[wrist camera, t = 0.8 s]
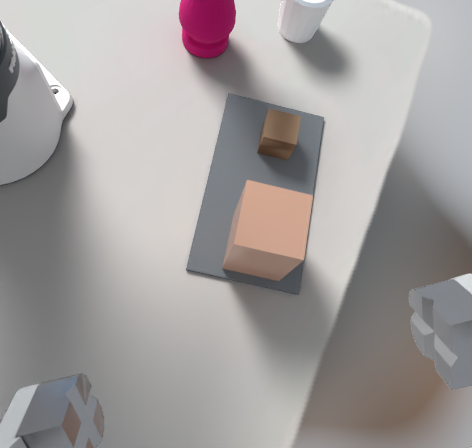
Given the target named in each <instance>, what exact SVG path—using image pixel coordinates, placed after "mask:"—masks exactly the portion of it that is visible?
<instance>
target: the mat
mask: <svg viewBox="0 0 472 448" xmlns="http://www.w3.org/2000/svg"><path fill="white" fill-rule="evenodd" d="M269 108H270V109H274V110H278V111H282V112H286V113H290V114H294V115H298V116H301V120H300V126H299V132H298V138H297V144H296V146H295V148H294V150H293V152H292V154H291V156H290V157H289V159H288V160H284V159H279V158H275V157H271V156H267V155H263V154H259V153H257V151H258V146H259V141H260V136H261V131H262V126H263V123H264V120H265V118H266V115H267V112H268V109H269ZM323 120H324V117H321V116H317V115H313V114H309V113H305V112H301V111H297V110H293V109H289V108H285V107H281V106H277V105H273V104H269V103H265V102H261V101H257V100H253V99H249V98H245V97H241V96H237V95H234V94H230V93H228V98H227V102H226V106H225V110H224V114H223V118H222V122H221V127H220V131H219V135H218V139H217V143H216V147H215V152H214V156H213V160H212V164H211V168H210V172H209V176H208V181H207V185H206V189H205V193H204V197H203V201H202V206H201V210H200V214H199V218H198V222H197V226H196V231H195V235H194V239H193V243H192V247H191V251H190V255H189V260H188V264H187V268H186V270H190V271H194V272H199V273H203V274H208V275H212V276H217V277H221V278H226V279H230V280H235V281H239V282H244V283H248V284H253V285H257V286H262V287H266V288H271V289H275V290H280V291H284V292H289V293H293V294H299V288H300V281H301V274H302V267H303V261H302V262H301V263H300V264H299V265H298V266H296V267H295V268H294V269H293V270H292V271H290V272H289V273H288V274H287V275H286V276H284V277H283V278H282V279H281V280H280V281H275V280H271V279H266V278H262V277H257V276H253V275H248V274H244V273H239V272H235V271H230V270H226V269H222V267H223V262H224V257H225V253H226V248H227V243H228V238H229V234H230V229H231V224H232V219H233V215H234V212H235V210H236V207H237V204H238V202H239V199H240V197H241V194H242V191H243V189H244V186H245V184H246V181H247V180H250V181H255V182H259V183H263V184H267V185H271V186H276V187H280V188H284V189H288V190H292V191H297V192H301V193H305V194H309V195H313V190H314V183H315V176H316V169H317V162H318V155H319V148H320V141H321V134H322V127H323Z"/></svg>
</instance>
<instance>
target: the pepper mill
mask: <svg viewBox="0 0 472 448" xmlns="http://www.w3.org/2000/svg"><path fill="white" fill-rule="evenodd" d="M235 17H236V10H235V4H234V0H181V3H180V9H179V20H180V23H181V25H182V27H183V28H182V40H183V44H184V46H185V47H186V49H187V50H188V51H189V52H190V53H192V54H193V55H195V56H198V57H201V58H213V57H217V56H218V55H220V54H222V53H223V52H224V51H225V49H226V48H227V45H228V39H229V34H230V32H231V31H232V30H233V28H234V25H235Z"/></svg>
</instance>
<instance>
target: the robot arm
mask: <svg viewBox="0 0 472 448" xmlns="http://www.w3.org/2000/svg"><path fill="white" fill-rule="evenodd" d="M55 92H58V94H54V93H55ZM72 104H73V98H72V96H71V95H70V93H69V92H68V91H67V90H66V89H65V88H64V87H63V86H62V85H61V84H60V83H59V82H58V81H57V80H56V79H55V78H54V76H53V75H52V74H51V73H50V72H49V71H48V70H47V69H46V68H45V67H44V66H43V65H42V64H41V63H40V62H39V61H38V60H37V59H36V58H35V57H34V56H33V55H32V54H31V53H30V52H29V51H28V50H27V49H26V48H25V47H24V46H23V45H22V44H21V43H20V42H19V41H18V40H17V39H16V38H15V37H14V36H13V35H12V34H11V33H10V32H9V31H8V30H7V29H6V28H5V27H4V26H3V24H2V23H1V21H0V185H2V184H7V183H11V182H14V181H17V180H19V179H22V178H24V177H26V176H28V175H30V174H31V173H33V172H34V171H36V170H37V169H38V168H40V167H41V166H42V165H43V164H44V163H45V162H46V161H47V160H48V159H49V158H50V156H51V155H52V153H53V152H54V150H55V148H56V146H57V144H58V141H59V138H60V133H61V126H62V122H63V119H64V117H65V116H66V115H67V113H68V112H69V110H70V108H71V107H72ZM409 304H410V306H411V307H412V308H413V309H414V310H415V313H414V314H413V316H412V318H411V319H410V321H411V331H412V334H413V337H414V340H415V342H416V344H417V346H418V348H419V349H420V351H421V352H422V353H423V355H424V356H425V357H427V358H429V359H432V360H434V361H435V370H436V371H437V372H438V374H439V375H440V376H441V377H442V379H443V380H444V381H445V382H446V384H447V385H448V386H449V387H450V389H451V390H454V389H458V388H463V387H467V386H471V385H472V274H466V275H462V276H459V277H456V278H452V279H450V280H447V281H443V282H440V283H436V284H432V285H428V286H424V287H420V288H417V289H413V290H410V293H409ZM90 389H91V384H90V382H89V380H88V378H87V376H86V375H84V374H77V375H73V376H68V377H64V378H60V379H55V380H51V381H47V382H43V383H39V384H35V385H31V386H27V387H23V388H21V389H19V390H18V391H17V392H16V394H15V395H14V397H13V399H12V401H11V403H10V405H9V407H8V409H7V411H6V413H5V415H4V417H3V419H2V421H1V423H0V448H96V446H97V445H98V444H99V443H100V442H101V440H102V437H103V432H104V416H103V412H102V408H101V405H100V403H99V401H98V399H96V398H94V397H93V396H91V395H89V392H90ZM467 448H472V446H471V447H467Z"/></svg>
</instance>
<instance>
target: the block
mask: <svg viewBox="0 0 472 448" xmlns="http://www.w3.org/2000/svg"><path fill="white" fill-rule="evenodd" d="M300 120H301V116H298V115H294V114H290V113H286V112H282V111H278V110H274V109H270V108H269V109H268V112H267V115H266V118H265V120H264V123H263V126H262V131H261V136H260V141H259V146H258V151H257V153H259V154H263V155H267V156H271V157H275V158H279V159H284V160H288V159H289V157H290V156H291V154H292V152H293V150H294V148H295V146H296V144H297V138H298V132H299V126H300Z"/></svg>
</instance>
